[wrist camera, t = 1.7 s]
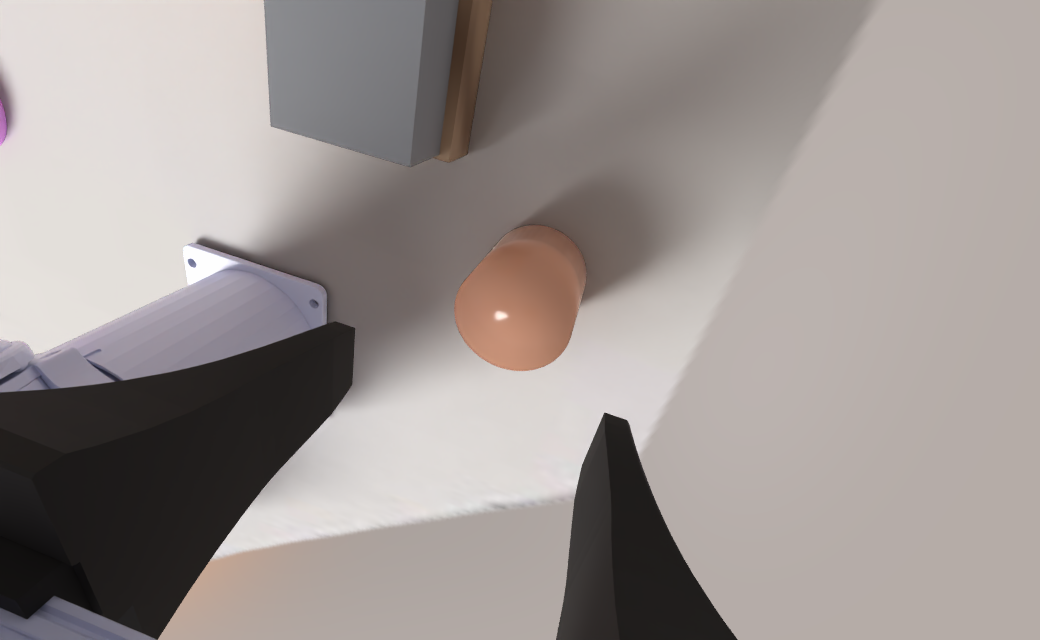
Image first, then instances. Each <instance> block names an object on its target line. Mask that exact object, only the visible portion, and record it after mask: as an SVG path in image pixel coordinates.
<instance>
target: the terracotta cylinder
mask: <svg viewBox="0 0 1040 640" xmlns="http://www.w3.org/2000/svg"><path fill="white" fill-rule="evenodd" d="M586 278H587V271H586V265H585V261H584V258H583V256H582V254H581V252H580V250H579V249H578V247H577V246H576V245H575V244H574V242H573V241H572V240H571V239H570V238H568V237H567V236H566V235H564V234H563V233H561V232H560V231H558V230H556V229H553V228H550V227H546V226H541V225H527V226H522V227H519V228H516V229H514V230H512V231H510V232H509V233H507V234H506V235H504V236H503V237H502V238H501V239H500V240H499V242H498V243H497V244H496V245H495V246H494V247H493V248H492V250H491V251H490V252H489V253H488V254H487V255H486V256H485V258H484V259H483V260H482V261H481V262H480V263H479V265H478V266H477V267H476V268H475V269H474V270H473V271H472V273H471V274H470V275H469V276H468V277H467V278H466V280H465V281H464V282H463V283H462V285H461V287H460V288H459V290H458V293H457V296H456V299H455V307H454V311H455V320H456V324H457V327H458V330H459V332H460V334H461V336H462V338H463V339H464V341H465V342H466V344H467V345H468V346H469V347H470V348H471V349H472V350H473V351H474V352H475V353H476V354H477V355H478V356H479V357H481V358H482V359H484V360H485V361H487V362H489V363H491V364H493V365H495V366H498V367H500V368H504V369H508V370H514V371H528V370H534V369H538V368H541V367H544V366H546V365H548V364H550V363H551V362H553V361H554V360H555V359H557V358H558V357H559V356H560V355H561V354H562V352H563V351H564V350H565V348H566V347H567V345H568V343H569V340H570V338H571V334H572V331H573V327H574V324H575V320H576V317H577V313H578V310H579V306H580V303H581V299H582V296H583V292H584V289H585V285H586Z"/></svg>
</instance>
